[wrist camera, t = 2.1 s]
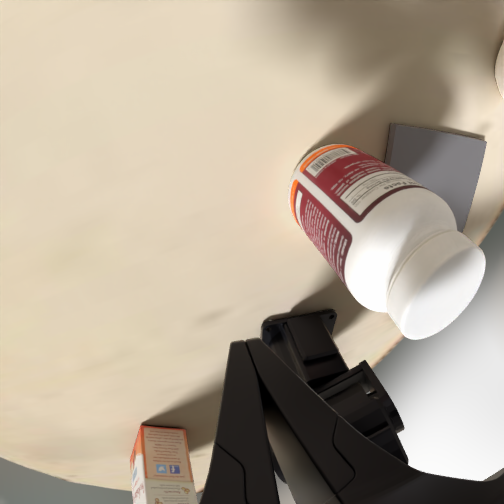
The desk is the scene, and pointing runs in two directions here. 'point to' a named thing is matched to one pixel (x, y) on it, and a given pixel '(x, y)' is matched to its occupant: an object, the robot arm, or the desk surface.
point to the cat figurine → (500, 70)
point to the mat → (438, 164)
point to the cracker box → (162, 467)
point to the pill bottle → (386, 238)
